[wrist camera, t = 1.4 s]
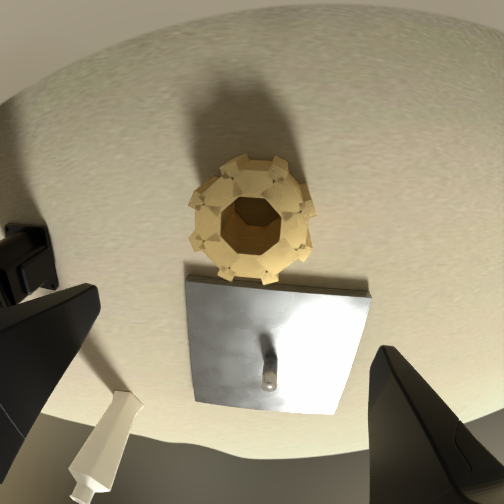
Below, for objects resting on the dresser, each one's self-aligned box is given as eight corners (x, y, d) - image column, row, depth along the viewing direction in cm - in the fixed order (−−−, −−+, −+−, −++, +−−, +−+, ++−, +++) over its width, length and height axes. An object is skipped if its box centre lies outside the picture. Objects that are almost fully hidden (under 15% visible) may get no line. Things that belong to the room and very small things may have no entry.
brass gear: (208, 245, 23) (189, 277, 18) (210, 151, 20) (188, 159, 15) (302, 254, 22) (306, 288, 18) (313, 158, 19) (321, 168, 15)
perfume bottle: (120, 382, 30) (63, 487, 17) (150, 404, 31) (105, 512, 17) (105, 394, 32) (53, 489, 18) (133, 415, 33) (90, 511, 19)
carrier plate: (197, 394, 29) (187, 423, 26) (188, 275, 24) (172, 302, 20) (332, 406, 28) (335, 437, 25) (368, 291, 23) (381, 320, 19)
